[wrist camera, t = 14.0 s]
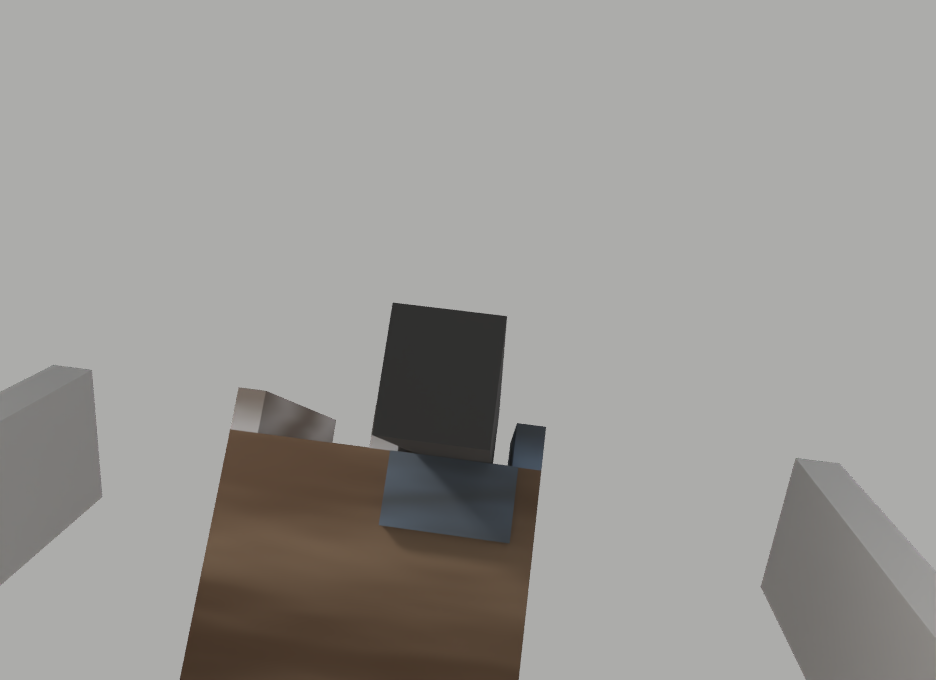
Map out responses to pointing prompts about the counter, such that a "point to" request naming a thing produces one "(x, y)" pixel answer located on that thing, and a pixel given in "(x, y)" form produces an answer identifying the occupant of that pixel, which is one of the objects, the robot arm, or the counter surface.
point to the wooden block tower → (361, 556)
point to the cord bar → (441, 382)
